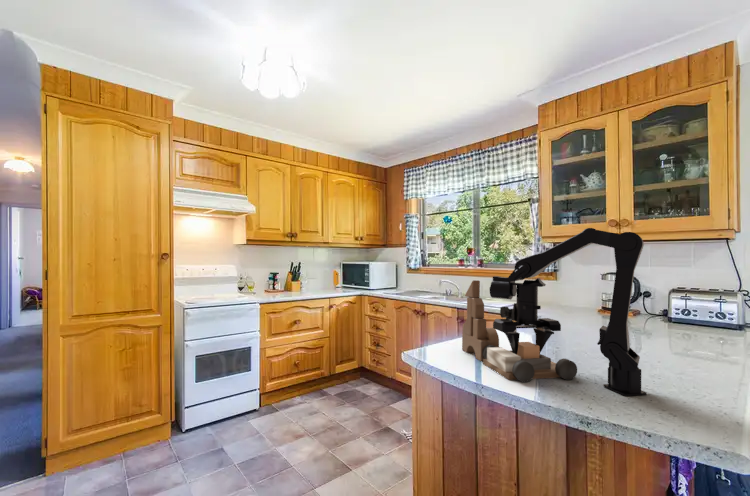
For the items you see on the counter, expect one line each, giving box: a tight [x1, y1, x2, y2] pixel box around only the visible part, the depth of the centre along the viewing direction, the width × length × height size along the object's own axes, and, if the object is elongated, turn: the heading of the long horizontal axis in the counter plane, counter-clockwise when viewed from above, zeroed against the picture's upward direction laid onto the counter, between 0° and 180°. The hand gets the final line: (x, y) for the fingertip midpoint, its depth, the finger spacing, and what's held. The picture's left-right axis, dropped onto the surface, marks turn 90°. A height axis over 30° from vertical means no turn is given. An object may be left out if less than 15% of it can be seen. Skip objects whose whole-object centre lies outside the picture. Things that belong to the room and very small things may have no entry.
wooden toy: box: [461, 280, 500, 362], centre depth 118 cm, size 16×7×25 cm, turn 11°
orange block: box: [517, 341, 541, 359], centre depth 102 cm, size 5×5×6 cm
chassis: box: [482, 345, 578, 383], centre depth 102 cm, size 18×20×6 cm
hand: (526, 354), depth 102 cm, fingers open, 7 cm apart
